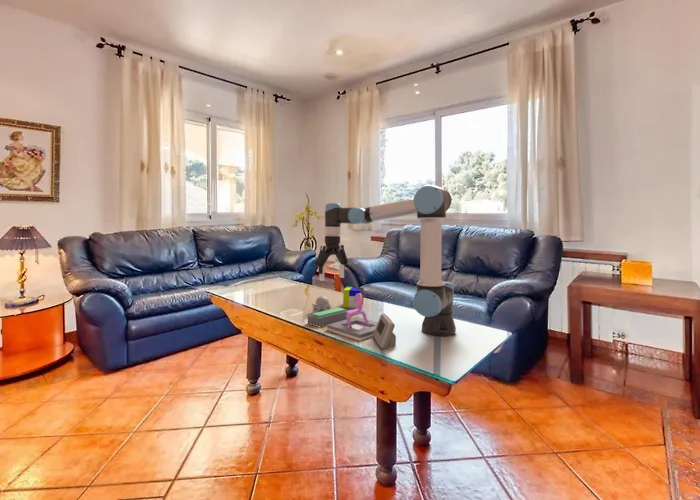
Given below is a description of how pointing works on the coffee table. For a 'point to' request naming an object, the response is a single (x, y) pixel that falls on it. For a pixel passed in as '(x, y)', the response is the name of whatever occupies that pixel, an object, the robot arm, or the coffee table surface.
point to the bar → (328, 312)
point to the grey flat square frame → (354, 328)
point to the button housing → (327, 319)
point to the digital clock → (385, 332)
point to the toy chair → (356, 310)
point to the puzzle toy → (351, 296)
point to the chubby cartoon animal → (321, 304)
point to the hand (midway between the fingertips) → (332, 279)
